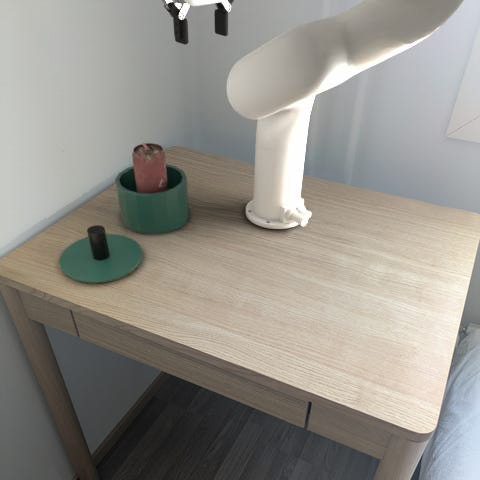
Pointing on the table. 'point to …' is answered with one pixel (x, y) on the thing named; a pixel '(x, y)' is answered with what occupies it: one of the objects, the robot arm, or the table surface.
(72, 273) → the lid
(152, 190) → the can
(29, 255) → the table surface
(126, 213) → the pot
